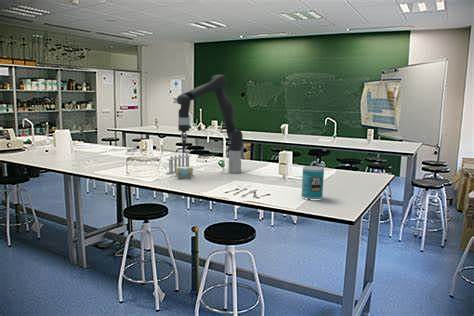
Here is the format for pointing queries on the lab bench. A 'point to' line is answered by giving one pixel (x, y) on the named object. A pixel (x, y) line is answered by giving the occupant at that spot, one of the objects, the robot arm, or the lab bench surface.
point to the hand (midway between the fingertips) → (184, 147)
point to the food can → (312, 182)
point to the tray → (184, 176)
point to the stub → (184, 172)
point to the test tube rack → (178, 162)
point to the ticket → (184, 167)
